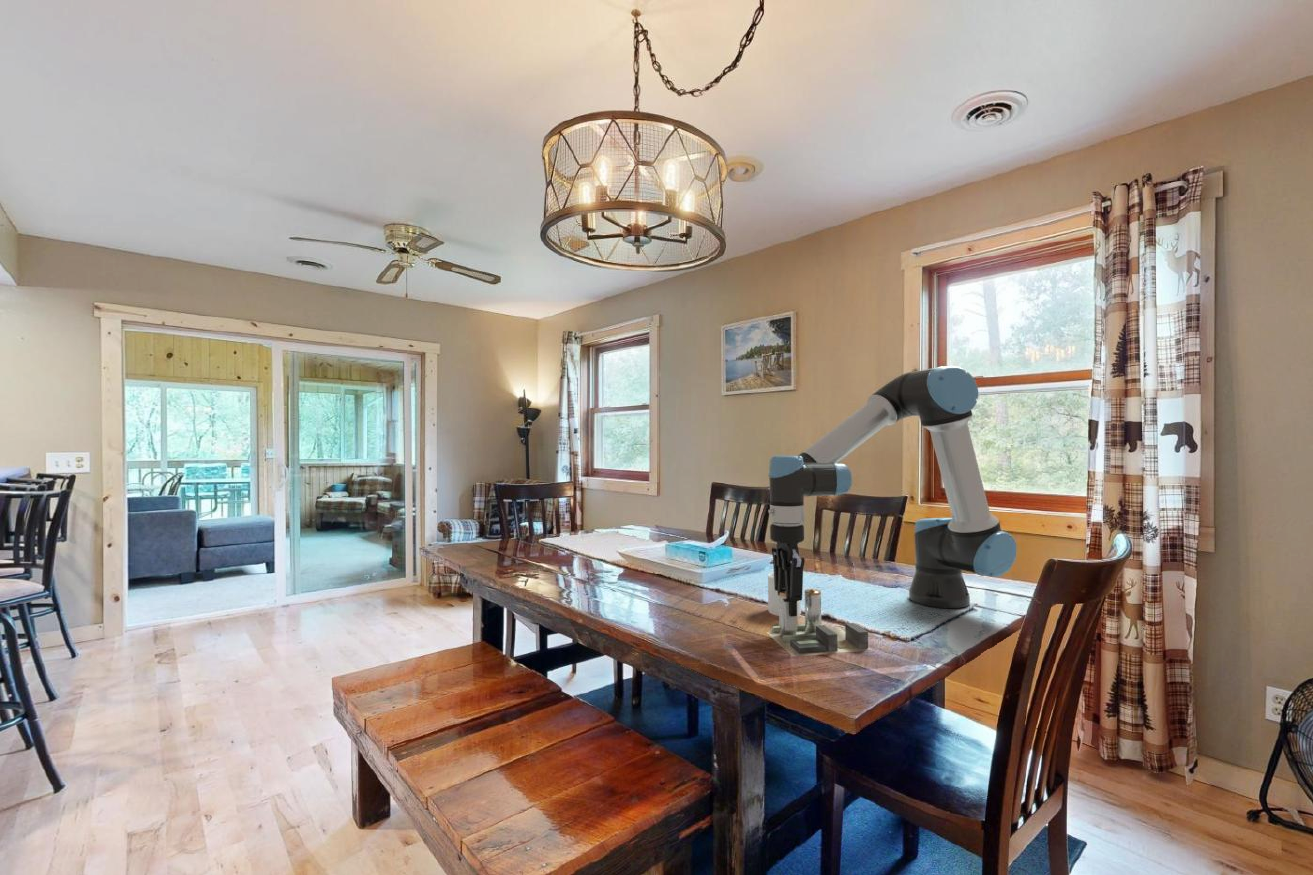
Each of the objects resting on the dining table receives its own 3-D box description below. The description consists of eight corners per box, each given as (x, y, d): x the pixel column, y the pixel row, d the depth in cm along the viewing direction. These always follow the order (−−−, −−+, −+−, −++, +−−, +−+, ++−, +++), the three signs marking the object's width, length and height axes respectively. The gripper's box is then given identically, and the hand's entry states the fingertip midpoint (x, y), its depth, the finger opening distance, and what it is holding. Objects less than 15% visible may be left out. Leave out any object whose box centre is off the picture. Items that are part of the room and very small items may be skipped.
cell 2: (817, 631, 131) (816, 587, 131) (824, 636, 128) (823, 591, 128) (802, 632, 131) (801, 588, 131) (809, 637, 127) (808, 592, 127)
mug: (809, 625, 139) (808, 583, 139) (775, 625, 139) (774, 583, 139) (796, 610, 151) (796, 571, 151) (765, 610, 150) (765, 572, 151)
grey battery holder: (838, 630, 134) (837, 611, 134) (873, 654, 119) (872, 633, 119) (766, 636, 131) (765, 617, 131) (792, 661, 116) (792, 639, 116)
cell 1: (792, 633, 130) (792, 588, 130) (799, 638, 127) (798, 592, 127) (777, 634, 130) (777, 589, 130) (783, 639, 126) (783, 593, 126)
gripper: (759, 519, 135) (760, 617, 135) (784, 529, 120) (786, 640, 120) (788, 518, 137) (790, 615, 137) (817, 528, 121) (819, 637, 121)
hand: (788, 627), depth 128 cm, fingers closed on cell 1, 2 cm apart
